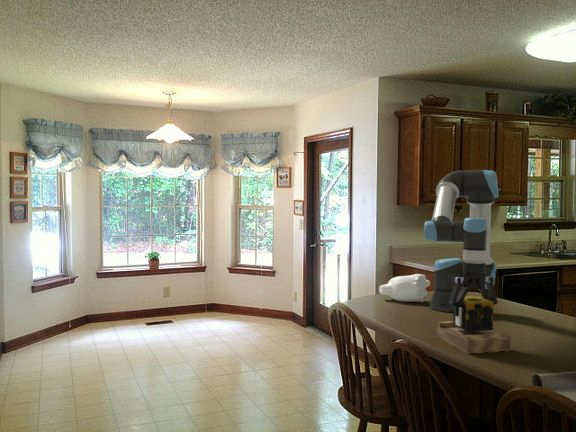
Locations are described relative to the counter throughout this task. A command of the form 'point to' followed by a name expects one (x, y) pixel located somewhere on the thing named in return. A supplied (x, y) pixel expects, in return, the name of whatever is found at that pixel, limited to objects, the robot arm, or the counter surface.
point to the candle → (476, 314)
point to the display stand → (473, 339)
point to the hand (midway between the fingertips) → (472, 324)
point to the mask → (406, 288)
